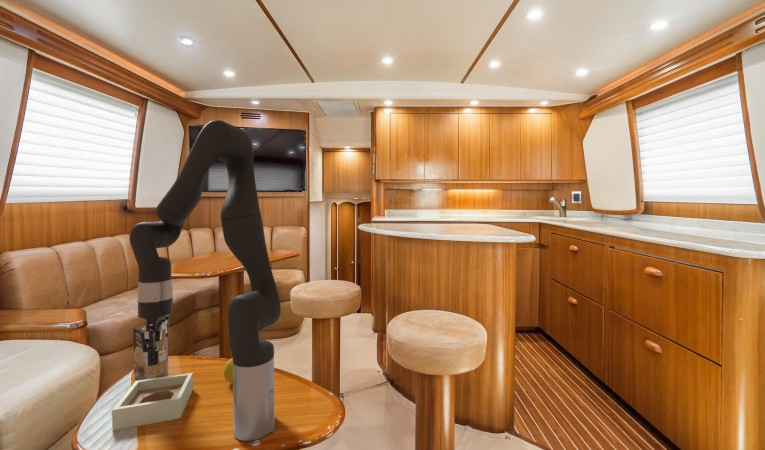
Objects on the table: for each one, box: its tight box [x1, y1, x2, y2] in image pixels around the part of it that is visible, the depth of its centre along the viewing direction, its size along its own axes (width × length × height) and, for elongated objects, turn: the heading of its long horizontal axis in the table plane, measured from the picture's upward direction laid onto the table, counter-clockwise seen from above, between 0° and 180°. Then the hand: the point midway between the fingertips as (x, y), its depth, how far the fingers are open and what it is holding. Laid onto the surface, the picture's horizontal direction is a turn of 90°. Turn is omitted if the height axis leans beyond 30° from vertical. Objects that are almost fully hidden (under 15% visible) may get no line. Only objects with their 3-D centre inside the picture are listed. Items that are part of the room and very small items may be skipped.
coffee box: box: [132, 324, 169, 381], centre depth 100 cm, size 9×6×16 cm
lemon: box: [223, 357, 233, 384], centre depth 97 cm, size 6×6×8 cm
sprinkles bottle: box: [146, 321, 167, 376], centre depth 84 cm, size 5×5×14 cm
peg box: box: [111, 372, 194, 431], centre depth 84 cm, size 14×14×5 cm
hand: (156, 360), depth 84 cm, fingers closed on sprinkles bottle, 4 cm apart
